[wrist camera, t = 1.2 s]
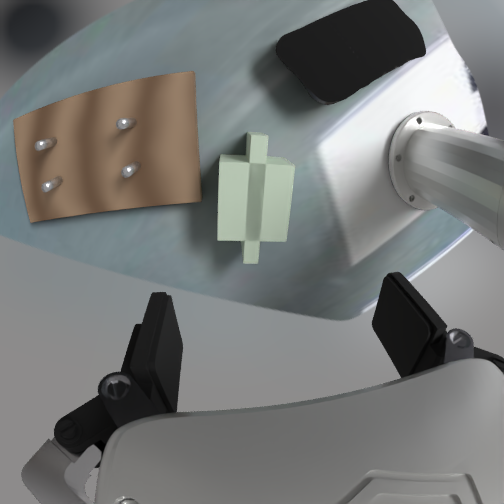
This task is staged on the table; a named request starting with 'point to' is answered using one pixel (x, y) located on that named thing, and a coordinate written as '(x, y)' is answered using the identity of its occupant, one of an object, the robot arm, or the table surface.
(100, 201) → the pin plate
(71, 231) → the table surface
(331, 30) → the black sponge
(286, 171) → the green grooved block
